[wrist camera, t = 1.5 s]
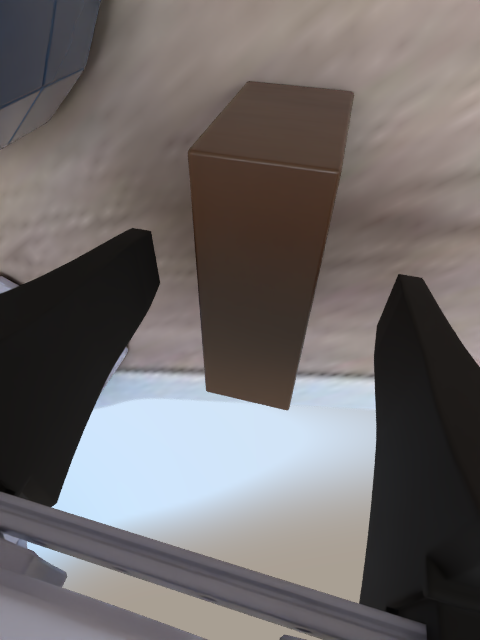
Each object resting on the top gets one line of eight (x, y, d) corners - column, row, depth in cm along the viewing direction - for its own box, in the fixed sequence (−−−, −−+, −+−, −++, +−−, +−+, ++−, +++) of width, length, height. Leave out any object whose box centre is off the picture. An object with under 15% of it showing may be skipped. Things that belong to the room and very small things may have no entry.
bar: (307, 312, 16) (288, 411, 13) (240, 299, 17) (205, 392, 14) (354, 90, 10) (341, 170, 7) (247, 80, 11) (186, 150, 7)
